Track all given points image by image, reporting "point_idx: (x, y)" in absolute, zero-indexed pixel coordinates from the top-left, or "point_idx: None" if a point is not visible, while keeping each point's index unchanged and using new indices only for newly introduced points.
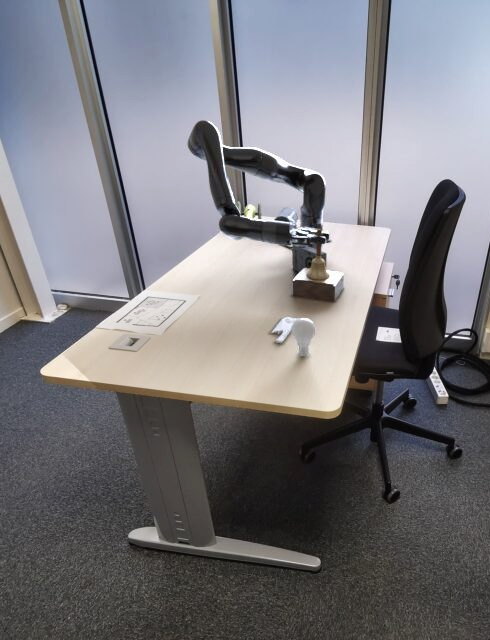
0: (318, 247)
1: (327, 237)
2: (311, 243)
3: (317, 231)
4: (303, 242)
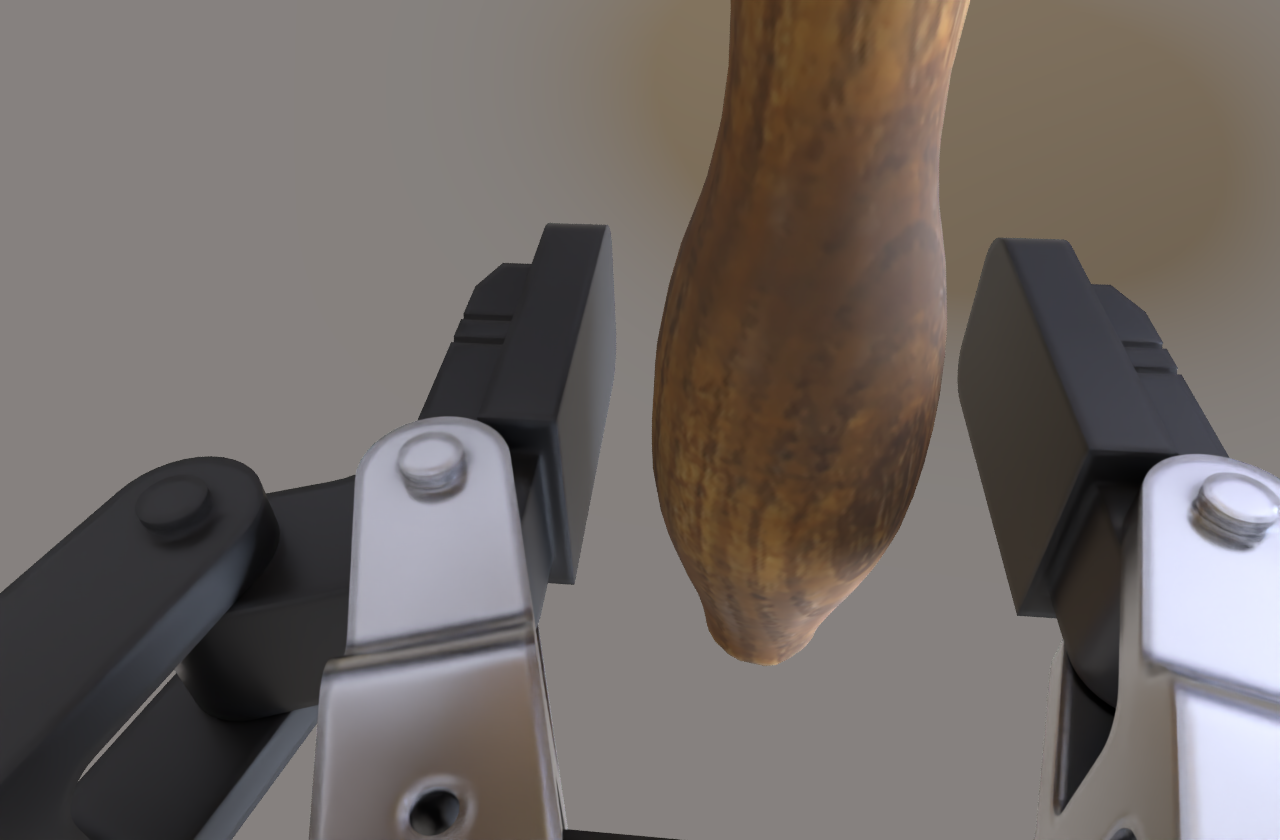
0: (712, 158)
1: (989, 307)
2: (360, 467)
3: (710, 615)
4: (74, 762)
